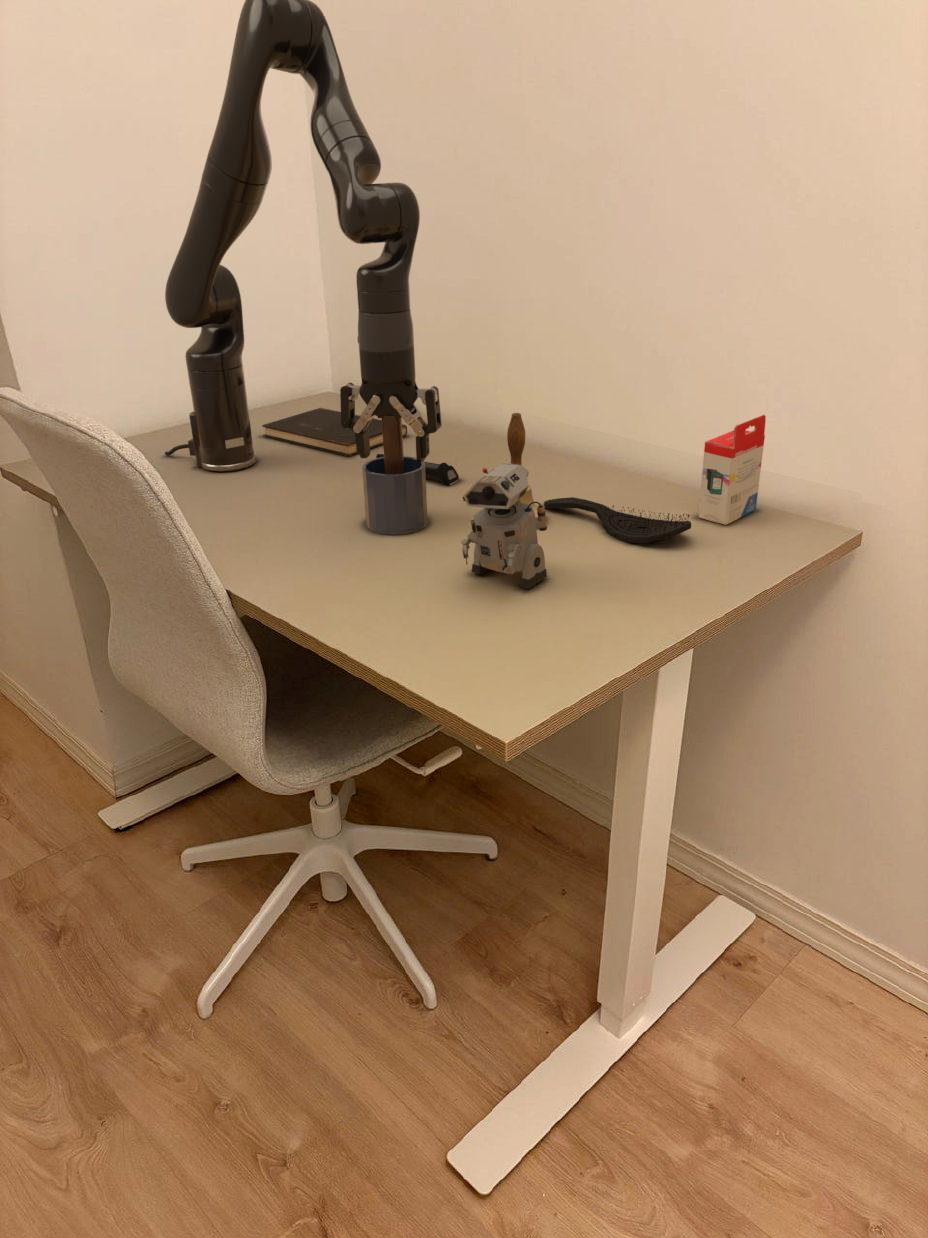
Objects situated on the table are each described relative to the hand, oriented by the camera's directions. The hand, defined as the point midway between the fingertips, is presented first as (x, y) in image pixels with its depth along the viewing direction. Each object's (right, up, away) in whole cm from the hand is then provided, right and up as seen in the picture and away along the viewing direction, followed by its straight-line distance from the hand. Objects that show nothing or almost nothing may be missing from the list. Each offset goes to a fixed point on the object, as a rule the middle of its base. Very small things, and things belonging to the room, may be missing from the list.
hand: (393, 458), depth 139 cm
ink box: (+49, -8, +5) cm, 50 cm away
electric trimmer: (+2, +1, +24) cm, 24 cm away
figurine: (+15, -19, -15) cm, 28 cm away
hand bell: (+18, -9, +5) cm, 20 cm away
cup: (0, -9, +5) cm, 10 cm away
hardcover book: (-14, +12, +47) cm, 50 cm away
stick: (0, -8, +4) cm, 9 cm away
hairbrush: (+32, -10, +2) cm, 33 cm away
